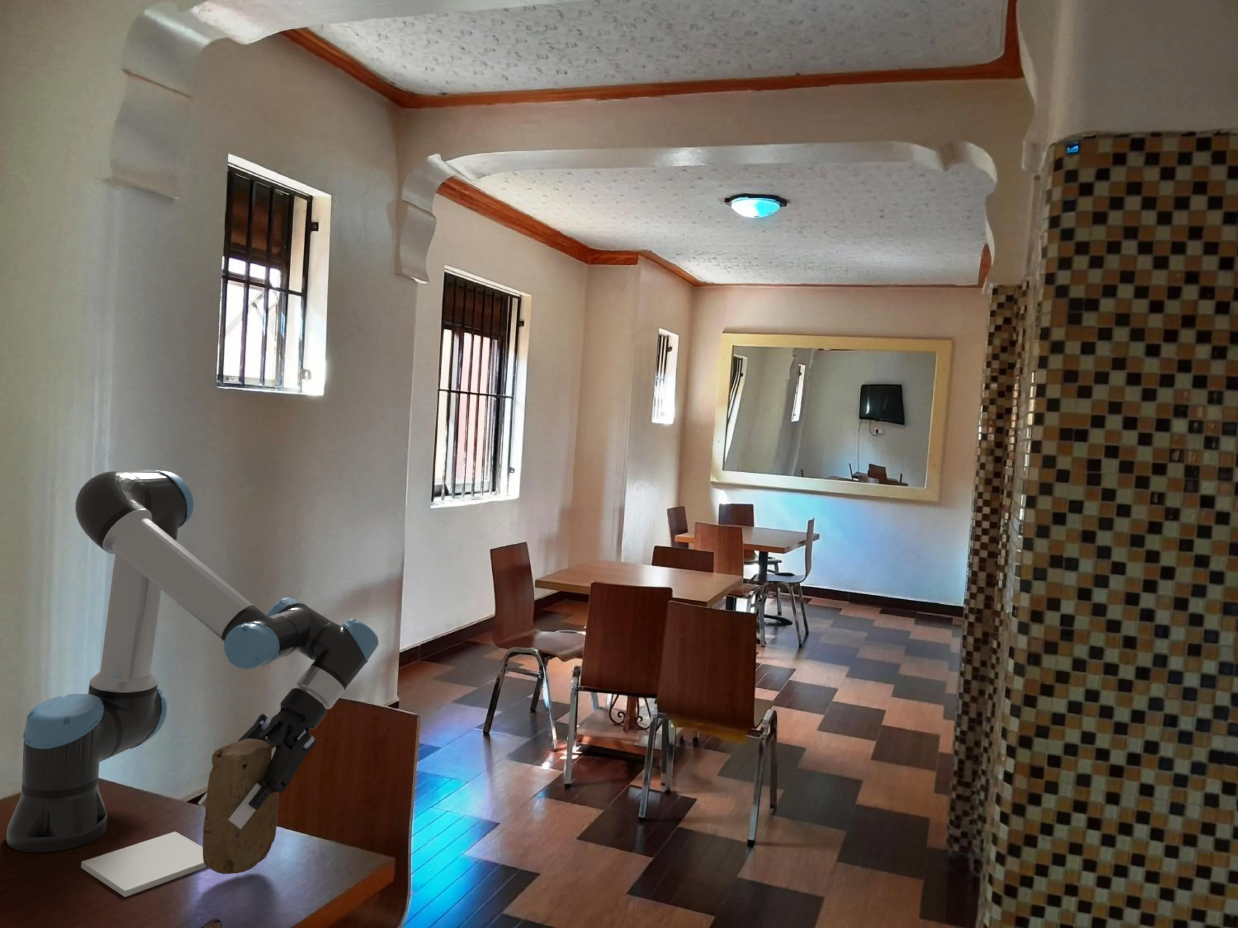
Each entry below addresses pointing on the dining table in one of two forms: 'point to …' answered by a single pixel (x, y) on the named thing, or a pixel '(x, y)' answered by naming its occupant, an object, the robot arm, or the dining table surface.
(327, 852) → the dining table surface
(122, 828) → the dining table surface
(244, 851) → the block
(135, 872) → the mat
